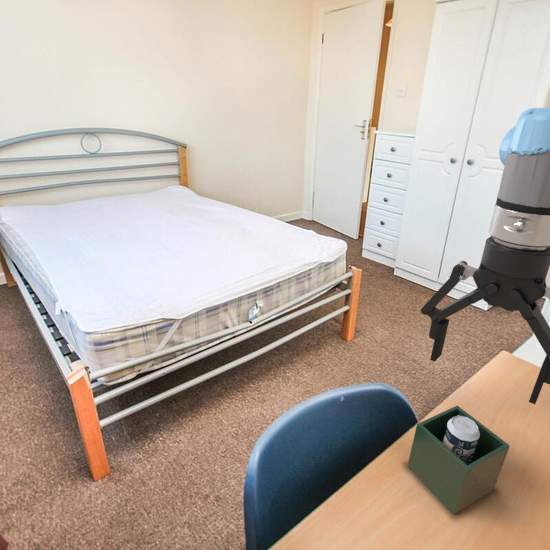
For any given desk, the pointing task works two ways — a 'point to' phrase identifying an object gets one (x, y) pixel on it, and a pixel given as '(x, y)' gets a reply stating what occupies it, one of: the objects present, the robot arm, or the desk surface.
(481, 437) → the green open-top box
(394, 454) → the desk surface
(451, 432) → the beer can
